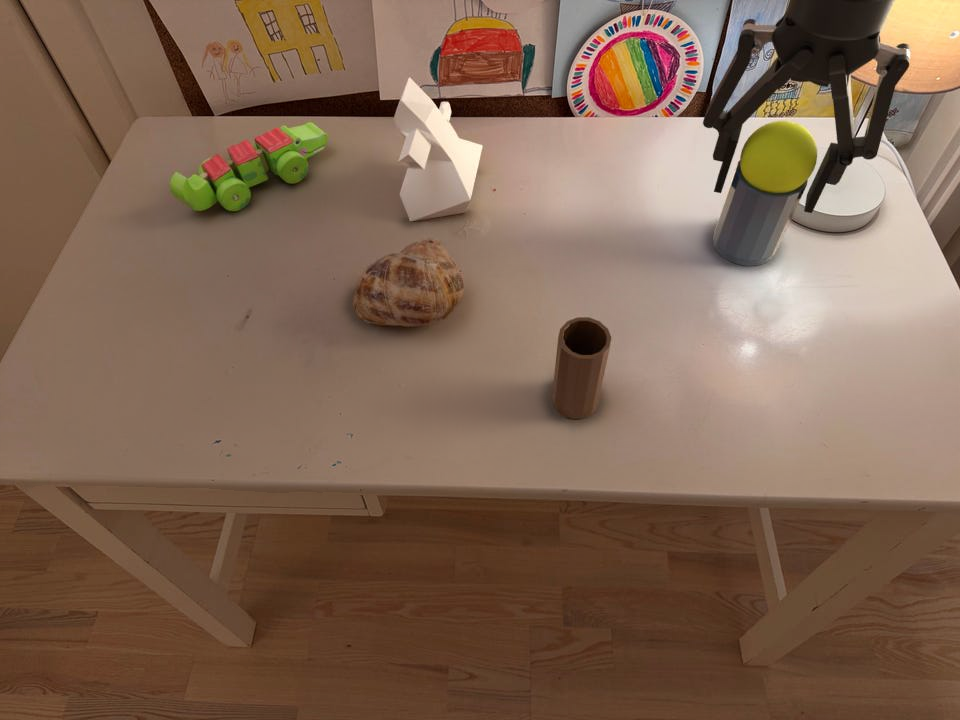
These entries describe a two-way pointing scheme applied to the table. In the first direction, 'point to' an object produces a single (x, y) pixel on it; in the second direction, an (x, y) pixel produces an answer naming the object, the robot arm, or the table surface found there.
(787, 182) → the ball
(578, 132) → the table surface
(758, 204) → the cup
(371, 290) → the seashell
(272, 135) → the toy crocodile
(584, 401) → the stand
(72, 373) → the table surface
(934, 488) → the table surface
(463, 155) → the white angular sculpture
